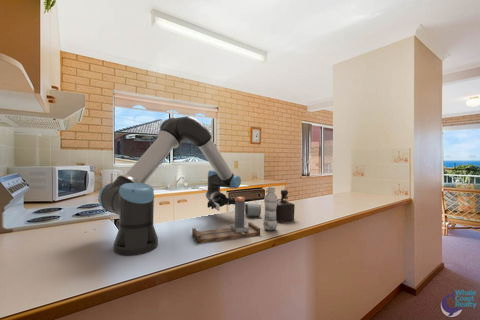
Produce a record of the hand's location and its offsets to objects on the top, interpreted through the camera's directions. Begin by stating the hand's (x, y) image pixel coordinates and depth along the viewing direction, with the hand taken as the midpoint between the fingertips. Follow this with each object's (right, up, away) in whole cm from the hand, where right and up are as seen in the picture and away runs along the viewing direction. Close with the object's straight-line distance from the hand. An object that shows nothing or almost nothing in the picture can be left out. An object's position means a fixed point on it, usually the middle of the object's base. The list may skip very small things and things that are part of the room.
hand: (232, 206), depth 111 cm
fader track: (-2, -10, -11) cm, 15 cm away
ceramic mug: (+11, -10, +23) cm, 27 cm away
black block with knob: (+27, -11, +14) cm, 33 cm away
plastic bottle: (+18, -11, -2) cm, 21 cm away
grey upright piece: (+3, -9, -8) cm, 12 cm away
